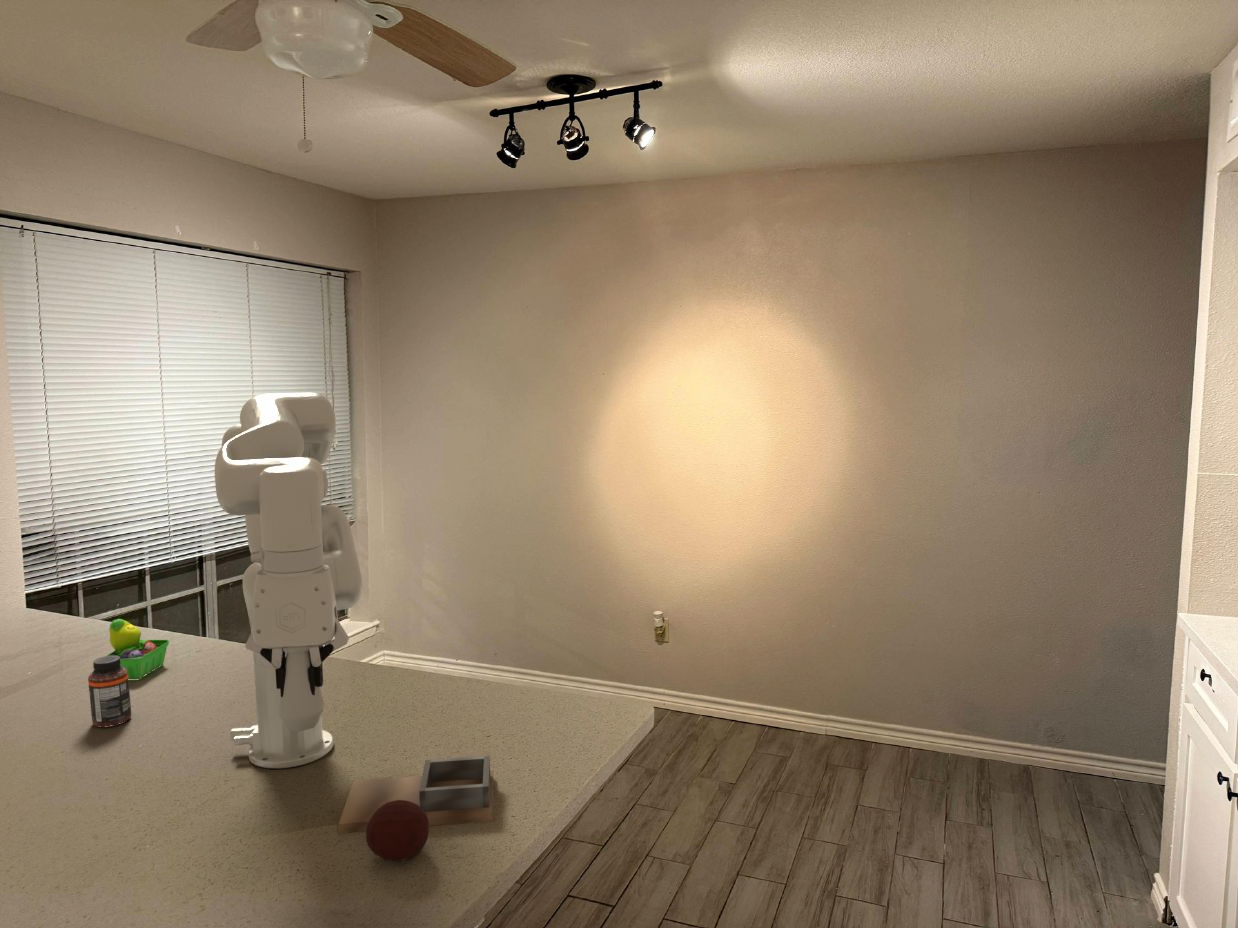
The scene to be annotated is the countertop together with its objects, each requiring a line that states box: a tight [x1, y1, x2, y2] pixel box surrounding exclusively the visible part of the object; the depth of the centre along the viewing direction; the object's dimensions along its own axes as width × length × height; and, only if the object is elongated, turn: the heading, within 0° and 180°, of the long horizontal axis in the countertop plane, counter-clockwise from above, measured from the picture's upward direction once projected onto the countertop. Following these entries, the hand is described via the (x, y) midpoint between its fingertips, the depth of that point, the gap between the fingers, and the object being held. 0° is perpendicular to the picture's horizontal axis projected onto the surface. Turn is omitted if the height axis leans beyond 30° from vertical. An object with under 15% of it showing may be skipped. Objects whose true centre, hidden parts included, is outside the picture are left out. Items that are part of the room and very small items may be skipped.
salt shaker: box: [278, 647, 325, 731], centre depth 116 cm, size 6×6×13 cm
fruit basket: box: [106, 618, 170, 679], centre depth 173 cm, size 11×9×11 cm
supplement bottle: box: [87, 655, 132, 728], centre depth 149 cm, size 6×6×11 cm
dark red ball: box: [365, 800, 430, 862], centre depth 107 cm, size 7×8×7 cm
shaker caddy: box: [337, 755, 494, 834], centre depth 120 cm, size 20×12×4 cm, turn 98°
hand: (300, 691), depth 116 cm, fingers closed on salt shaker, 3 cm apart
